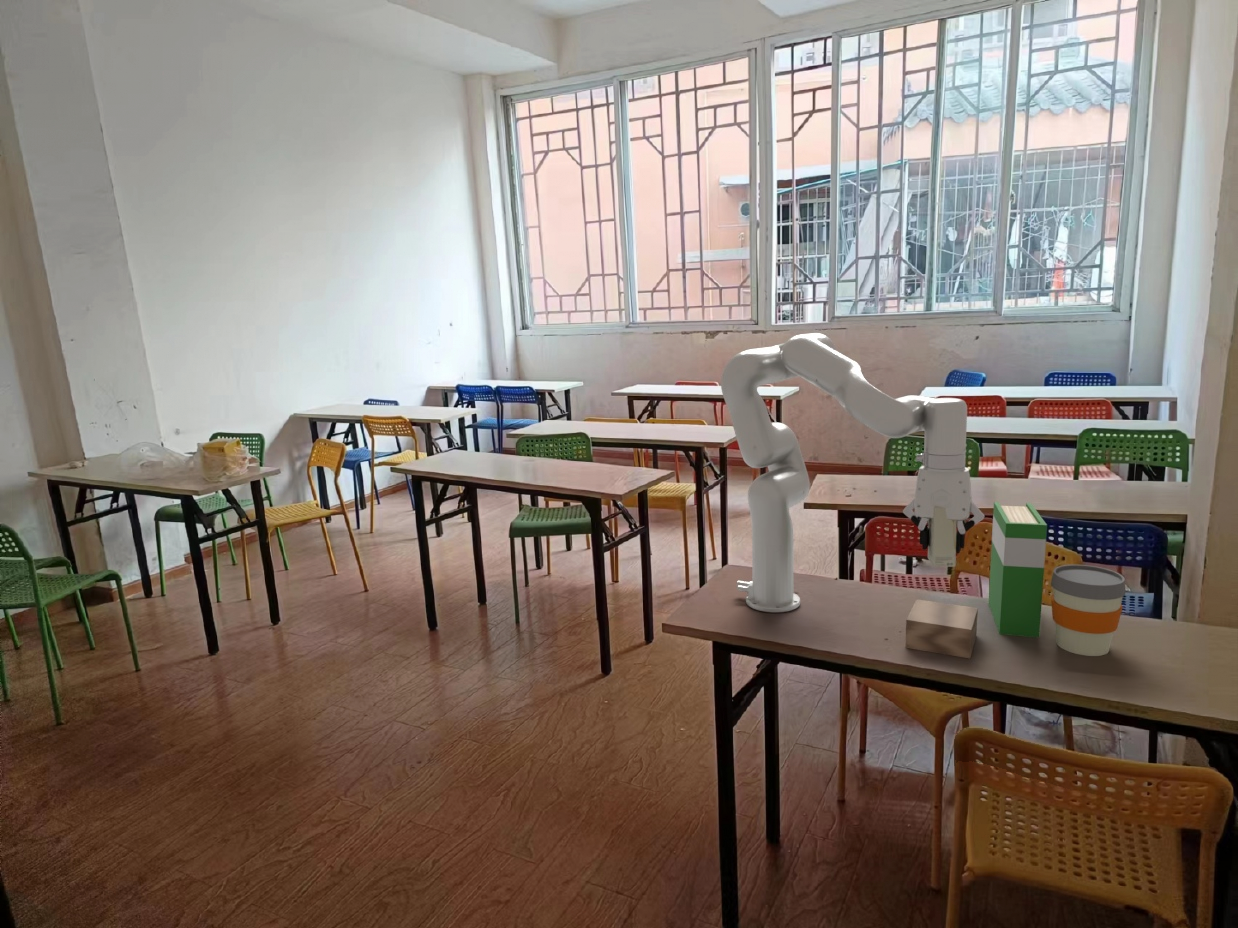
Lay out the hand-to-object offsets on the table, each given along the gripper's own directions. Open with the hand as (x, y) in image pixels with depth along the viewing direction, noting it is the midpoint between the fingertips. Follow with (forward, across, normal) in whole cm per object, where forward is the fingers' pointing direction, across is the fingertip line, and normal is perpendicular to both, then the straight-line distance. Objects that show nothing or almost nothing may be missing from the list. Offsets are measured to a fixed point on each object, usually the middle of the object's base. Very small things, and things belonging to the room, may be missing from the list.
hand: (941, 548), depth 154 cm
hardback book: (+20, +12, +18) cm, 30 cm away
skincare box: (+3, 0, 0) cm, 3 cm away
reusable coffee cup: (+20, +25, +9) cm, 34 cm away
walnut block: (+20, 0, 0) cm, 20 cm away
